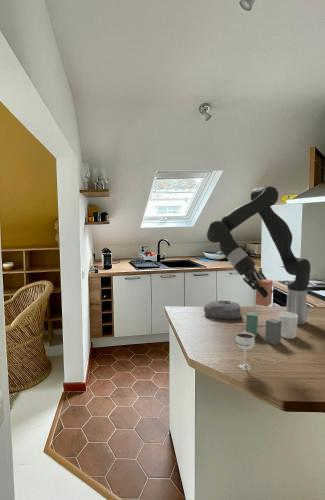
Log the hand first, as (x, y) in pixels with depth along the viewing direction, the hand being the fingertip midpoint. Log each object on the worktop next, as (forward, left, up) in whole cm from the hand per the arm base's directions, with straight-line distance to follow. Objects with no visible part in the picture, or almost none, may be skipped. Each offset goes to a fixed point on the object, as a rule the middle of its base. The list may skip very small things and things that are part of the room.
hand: (268, 294), depth 117 cm
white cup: (-22, -10, -24) cm, 34 cm away
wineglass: (+15, +4, -24) cm, 29 cm away
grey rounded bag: (-12, -46, -24) cm, 54 cm away
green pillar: (-9, -19, -24) cm, 32 cm away
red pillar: (+1, -2, -4) cm, 5 cm away
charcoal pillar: (-11, -8, -24) cm, 28 cm away
